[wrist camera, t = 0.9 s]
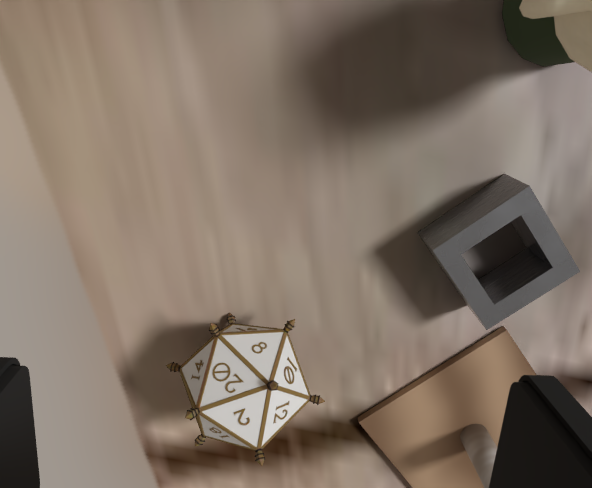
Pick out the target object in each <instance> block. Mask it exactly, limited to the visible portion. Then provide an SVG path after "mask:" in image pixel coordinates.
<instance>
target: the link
mask: <svg viewBox="0 0 592 488" xmlns="http://www.w3.org/2000/svg"><path fill="white" fill-rule="evenodd" d="M510 222H511V223H512V225H513V226H514V228H515V230H516V231H517V233H518V235H519V236H520V238H521V239H522V241H523V243H524V244H525V246H526V247H527V249H525V250H524V251H522V252H521V253H519V254H517V255H516V256H514V257H513V258H511V259H510V260H508V261H507V262H505V263H503V264H502V265H500V266H499V267H497V268H496V269H494V270H493V271H491V272H490V273H488V274H486V275H485V276H483V277H482V278H480V279H479V280H477V278H476V277H475V275H474V274H473V272H472V271H471V269H470V268H469V266H468V265H467V263H466V262H465V260H464V259H463V257H462V256H461V254H462V253H464V252H465V251H467V250H468V249H470V248H472V247H473V246H475V245H476V244H478V243H479V242H481V241H482V240H484V239H485V238H487V237H488V236H490V235H491V234H493V233H494V232H496V231H497V230H499V229H500V228H502V227H503V226H505V225H506V224H508V223H510ZM418 234H419V235H420V237H421V238H422V240H423V241H424V243H425V244H426V246H427V247H428V249H429V250H430V251H431V253H432V254H433V256H434V257H435V259H436V260H437V262H438V263H439V265H440V266H441V268H442V269H443V271H444V272H445V273H446V275H447V276H448V278H449V279H450V281H451V282H452V284H453V285H454V287H455V288H456V290H457V291H458V292H459V294H460V295H461V297H462V298H463V300H464V301H465V303H466V304H467V306H468V307H469V308H470V309H471V311H472V312H473V313H474V314H475V316H476V317H477V318H478V320H479V321H480V322H481V323H482V325H483V326H484V327H485V328H486V330H488V329H489V328H491V327H492V326H494V325H496V324H497V323H499V322H500V321H502V320H503V319H505V318H507V317H508V316H510V315H511V314H513V313H515V312H516V311H518V310H519V309H521V308H523V307H524V306H526V305H527V304H529V303H531V302H532V301H534V300H535V299H537V298H539V297H540V296H542V295H543V294H545V293H546V292H548V291H550V290H551V289H553V288H554V287H556V286H558V285H559V284H561V283H562V282H564V281H566V280H567V279H569V278H570V277H572V276H574V275H575V274H577V273H578V272H580V270H579V269H578V267H577V265H576V264H575V262H574V260H573V259H572V257H571V255H570V254H569V252H568V250H567V248H566V247H565V245H564V243H563V242H562V240H561V238H560V237H559V235H558V233H557V232H556V230H555V228H554V226H553V225H552V223H551V221H550V220H549V218H548V216H547V215H546V213H545V211H544V210H543V208H542V206H541V204H540V203H539V201H538V199H537V198H536V196H535V194H534V193H533V191H532V189H531V188H530V186H529V185H527V184H524V183H522V182H520V181H518V180H516V179H514V178H512V177H510V176H508V175H506V174H503V175H502V176H501V177H499V178H498V179H496V180H495V181H493V182H492V183H490V184H489V185H487V186H486V187H484V188H483V189H481V190H480V191H478V192H477V193H475V194H474V195H472V196H471V197H469V198H468V199H466V200H465V201H463V202H462V203H461V204H459V205H458V206H456V207H455V208H453V209H452V210H450V211H449V212H447V213H446V214H444V215H443V216H441V217H440V218H438V219H437V220H435V221H434V222H432V223H431V224H429V225H428V226H426V227H425V228H423V229H422V230H420V231H419V232H418Z"/></svg>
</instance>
